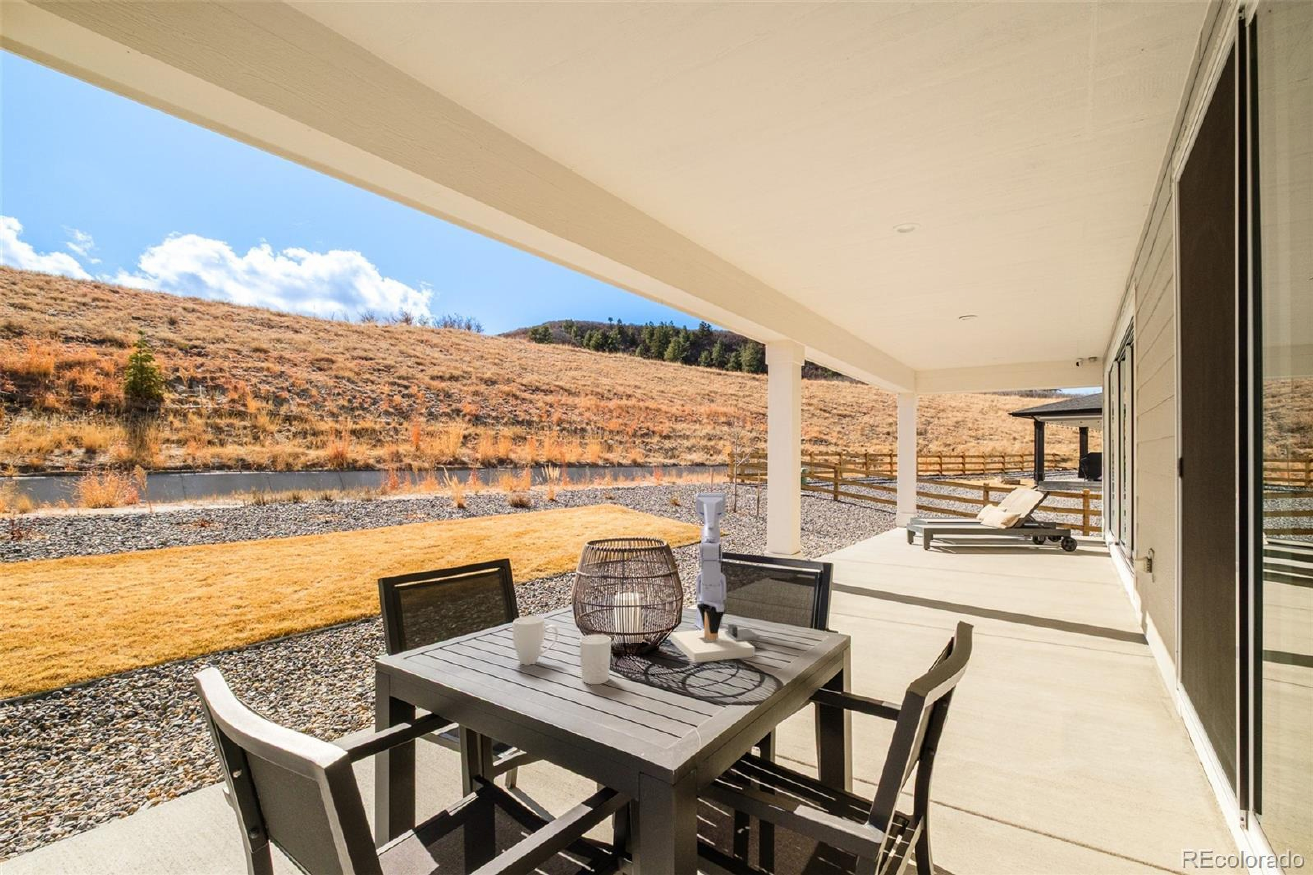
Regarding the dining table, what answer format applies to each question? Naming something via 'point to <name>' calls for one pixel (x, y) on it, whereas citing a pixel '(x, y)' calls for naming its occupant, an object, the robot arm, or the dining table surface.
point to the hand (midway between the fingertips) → (710, 631)
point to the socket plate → (711, 646)
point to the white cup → (595, 658)
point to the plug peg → (707, 631)
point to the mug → (530, 638)
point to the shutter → (740, 634)
